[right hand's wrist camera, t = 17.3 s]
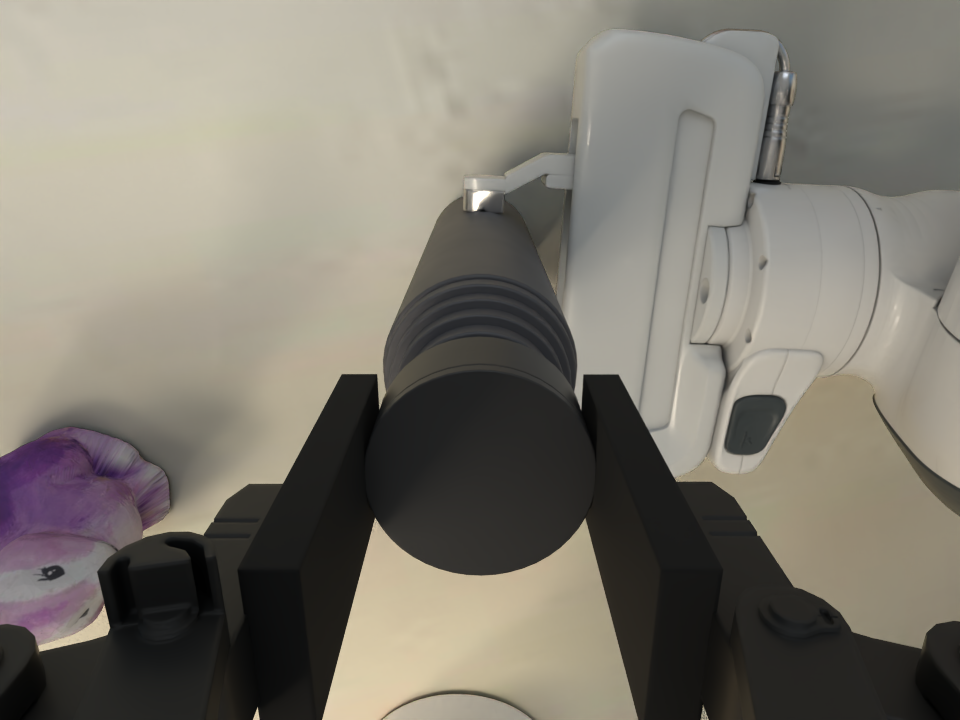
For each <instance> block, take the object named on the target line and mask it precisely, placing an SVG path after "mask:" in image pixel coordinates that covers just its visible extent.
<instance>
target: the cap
mask: <svg viewBox="0 0 960 720" xmlns="http://www.w3.org/2000/svg"><path fill="white" fill-rule="evenodd" d="M364 465H365V481H366V494H367V499H368V502H369V505H370V507H371V509H372V512H373V514H374V516H375V518H376V519H377V521H378V523H379V524H380V526H381V527H382V529H383V530H384V531H385V532H386V534H387V535H388V536H389V537H390V538H391V539H392V540H393V541H394V542H395V543H396V544H397V545H398V546H399V547H400V548H402V549H403V550H404V551H406V552H407V553H409V554H410V555H411V556H413V557H415V558H416V559H418V560H420V561H422V562H424V563H426V564H428V565H431V566H433V567H436V568H438V569H442V570H445V571H449V572H453V573H459V574H465V575H496V574H502V573H508V572H512V571H515V570H519V569H522V568H525V567H527V566H530V565H532V564H535V563H537V562H539V561H541V560H542V559H544V558H546V557H548V556H549V555H551V554H552V553H553V552H555V551H556V550H558V549H559V548H560V547H561V546H562V545H563V544H565V543H566V542H567V541H568V540H569V539H570V538H571V537H572V535H573V534H574V533H575V532H576V531H577V529H578V528H579V527H580V525H581V523H582V522H583V520H584V519H585V517H586V515H587V513H588V511H589V508H590V506H591V504H592V501H593V497H594V488H595V473H596V456H595V450H594V447H593V444H592V441H591V438H590V435H589V432H588V429H587V426H586V423H585V420H584V417H583V415H582V412H581V409H580V406H579V403H578V400H577V397H576V395H575V393H574V391H573V389H572V387H571V385H570V384H569V382H568V381H567V379H566V378H565V376H564V375H563V374H562V373H561V372H560V371H559V370H558V368H557V367H556V366H555V365H553V364H552V363H551V362H550V361H549V360H548V359H546V358H545V357H544V356H542V355H540V354H539V353H537V352H536V351H534V350H532V349H530V348H528V347H526V346H524V345H522V344H519V343H516V342H512V341H509V340H505V339H500V338H494V337H467V338H461V339H456V340H451V341H448V342H445V343H442V344H439V345H437V346H435V347H433V348H430V349H428V350H426V351H425V352H423V353H422V354H420V355H419V356H417V357H416V358H414V359H413V360H412V361H411V362H410V363H408V364H407V365H406V366H405V367H404V368H403V369H402V370H401V371H400V373H399V374H398V375H397V376H396V377H395V379H394V380H393V382H392V383H391V385H390V386H389V388H388V390H387V392H386V394H385V397H384V399H383V402H382V404H381V407H380V410H379V413H378V416H377V419H376V422H375V425H374V428H373V430H372V433H371V436H370V439H369V442H368V446H367V449H366V452H365V459H364Z"/></svg>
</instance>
